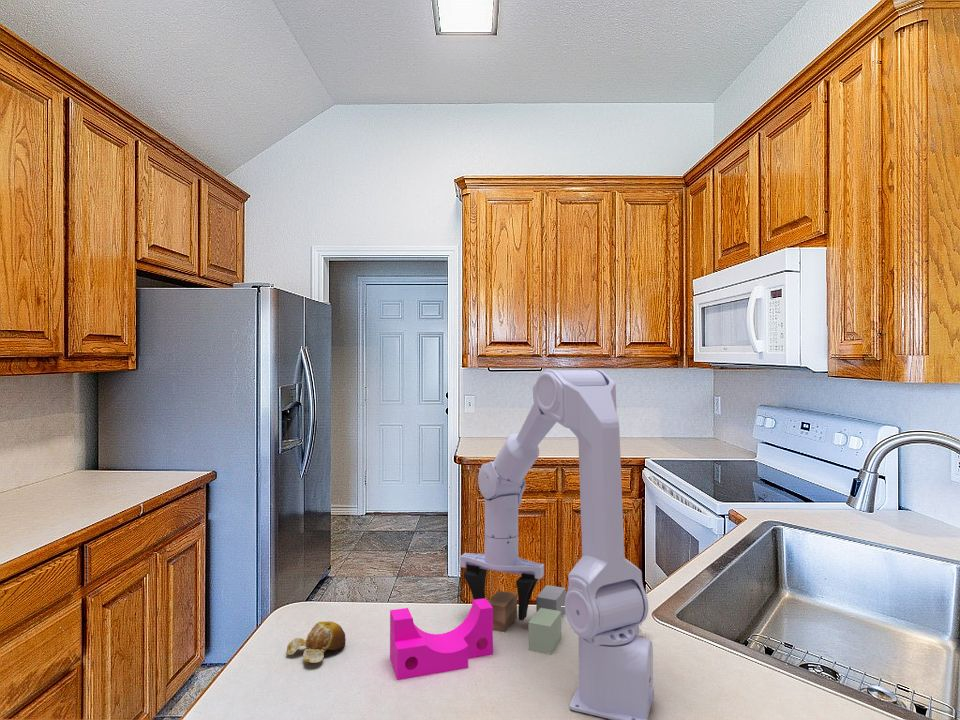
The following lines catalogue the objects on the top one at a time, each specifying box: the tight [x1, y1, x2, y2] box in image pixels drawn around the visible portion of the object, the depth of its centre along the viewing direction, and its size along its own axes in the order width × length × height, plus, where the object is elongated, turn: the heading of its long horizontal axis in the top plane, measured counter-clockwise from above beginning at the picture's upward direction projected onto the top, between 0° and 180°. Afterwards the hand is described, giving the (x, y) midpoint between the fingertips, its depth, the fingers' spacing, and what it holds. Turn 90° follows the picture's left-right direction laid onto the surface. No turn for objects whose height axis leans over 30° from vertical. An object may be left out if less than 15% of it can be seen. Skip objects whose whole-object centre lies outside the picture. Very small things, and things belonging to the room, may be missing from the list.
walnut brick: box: [487, 590, 518, 633], centre depth 100 cm, size 4×6×4 cm, turn 156°
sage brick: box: [528, 608, 562, 655], centre depth 92 cm, size 4×6×4 cm, turn 156°
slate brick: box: [535, 584, 567, 618], centre depth 102 cm, size 4×6×4 cm, turn 156°
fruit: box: [285, 620, 347, 664], centre depth 90 cm, size 8×8×4 cm
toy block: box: [389, 597, 494, 681], centre depth 87 cm, size 15×6×8 cm, turn 108°
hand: (501, 614), depth 100 cm, fingers open, 7 cm apart
